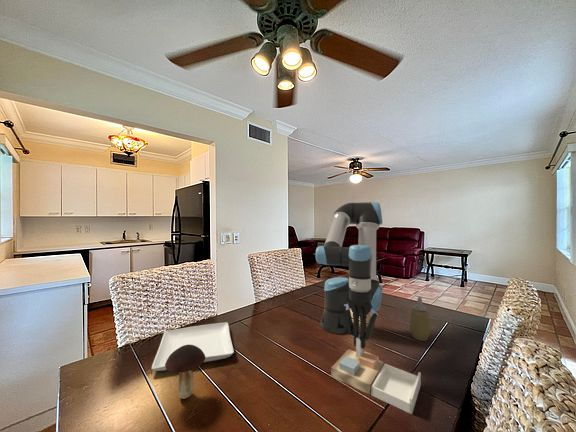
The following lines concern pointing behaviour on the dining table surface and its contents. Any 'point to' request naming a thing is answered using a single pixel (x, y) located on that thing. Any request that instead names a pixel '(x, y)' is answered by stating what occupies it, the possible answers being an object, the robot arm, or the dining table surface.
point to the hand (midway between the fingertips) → (359, 355)
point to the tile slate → (349, 365)
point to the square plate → (196, 343)
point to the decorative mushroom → (185, 367)
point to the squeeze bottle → (420, 321)
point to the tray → (397, 387)
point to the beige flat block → (357, 373)
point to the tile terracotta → (369, 360)
